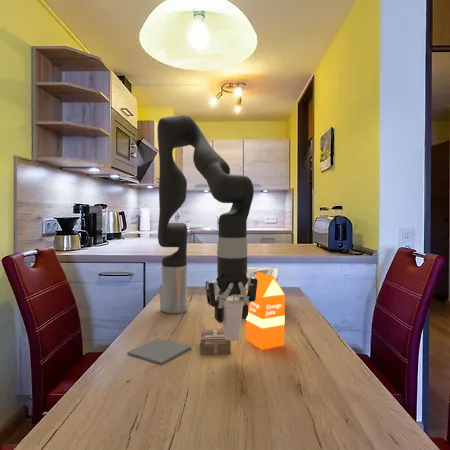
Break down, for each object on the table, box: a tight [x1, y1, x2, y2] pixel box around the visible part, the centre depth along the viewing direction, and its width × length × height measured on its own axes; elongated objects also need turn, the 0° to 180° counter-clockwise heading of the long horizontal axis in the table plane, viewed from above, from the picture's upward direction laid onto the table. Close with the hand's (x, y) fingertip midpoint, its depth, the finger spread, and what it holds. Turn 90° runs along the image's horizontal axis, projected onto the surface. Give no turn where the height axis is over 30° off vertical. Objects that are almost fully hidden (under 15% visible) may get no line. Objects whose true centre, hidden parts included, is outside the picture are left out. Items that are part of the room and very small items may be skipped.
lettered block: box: [200, 328, 232, 355], centre depth 101 cm, size 8×8×4 cm
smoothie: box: [222, 295, 244, 342], centre depth 92 cm, size 6×6×14 cm
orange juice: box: [245, 272, 286, 351], centre depth 105 cm, size 8×9×20 cm
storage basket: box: [235, 266, 280, 298], centre depth 140 cm, size 24×16×15 cm
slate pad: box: [127, 337, 192, 365], centre depth 98 cm, size 12×12×1 cm
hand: (231, 319), depth 92 cm, fingers closed on smoothie, 6 cm apart
